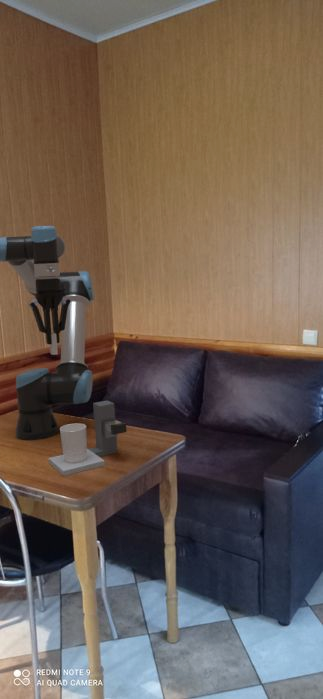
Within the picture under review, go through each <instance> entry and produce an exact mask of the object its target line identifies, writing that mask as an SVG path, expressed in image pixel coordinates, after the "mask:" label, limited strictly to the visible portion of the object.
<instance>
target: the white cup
mask: <svg viewBox="0 0 323 699" xmlns="http://www.w3.org/2000/svg"><path fill="white" fill-rule="evenodd" d="M59 435H60V442H61V447H62V452H63V454H62V455H64V460H65V461H66V462H69V463H76V462H81V461H84V460H85V459H86V458H87V449H88V446H87V444H88V440H87V435H88V434H87V424H85V423H69V424H64V425H62V426H60V428H59Z"/></svg>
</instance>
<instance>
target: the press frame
mask: <svg viewBox="0 0 323 699" xmlns="http://www.w3.org/2000/svg"><path fill="white" fill-rule="evenodd" d="M92 408H93V419H94V420H93V421H94V432H95V433H94V434H95V435H94V436H95V446H94V447H91V448H87V458H86V459H85V460H84V461H81V462H76V463H69V462H66V461H65V460H64V454H61V455H56V456H51V457H48V464H50V465H51V466H52V467H53V468H54V469H55V470H56V471H57V472H58V473H60V475H61V476H63V477H65V476H69V475H74V474H77V473H81V472H85V471H88V470H93V469H96V468H101V467H105V466H106V460H104V459H103V458H101V457H103V456H107V455H111V454H116V453H118V442H117V440H118V438H117V436H114V437H110V438H105V437H104V435H103V421H106V420H111V419H115V420H116V412H115V411H116V410H115V409H116V408H115V403H114V402H112V401H110V400H104V401H103V400H102V401H97V402H93V403H92Z"/></svg>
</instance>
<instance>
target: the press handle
mask: <svg viewBox="0 0 323 699" xmlns="http://www.w3.org/2000/svg"><path fill="white" fill-rule="evenodd" d="M127 431H128V430H127V423H126V422H121V421H119V420H118V419H116V418H115V419H111V420H106V421H103V435H104V437H105V438H110V437H114V436H116V437H118V436H119V435H120V434H123V433H127Z"/></svg>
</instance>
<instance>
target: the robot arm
mask: <svg viewBox="0 0 323 699" xmlns="http://www.w3.org/2000/svg"><path fill="white" fill-rule="evenodd" d="M30 232H31V233H30V235H25V236H23V235H22V236H4V237H0V262H8V264H9V265H10V266H11V267H12V268H13V270H14V271H15V273H16V274H17V275H18V276H19V278H21V280H22V281H23V283H24V284H23V285H24V287H25V289H26V290H27V291H28V293H30V294H31V295H32V296H33V297H34V300H32V301H29V302H28V307H30V309H31V310H32V313H33V315H34V319H35V322H36V325H37V328H38V331H39V332H41V333H44V334H45V339H46V344H47V345H49V352H50V355H53V356H55V355H59V351H58V344H61V346H60V347H61V348H60V362H59V363H58V364H57V365H56V366H55V367H56V369H55V371H50V370H49V369H48V368H47V367H39V368H34V369H29V370H27V371H23V372H21V373H19V374H17V376H16V378H15V390H16V397H17V399H16V400H17V407H18V408H17V409H18V418H17V423H16V427H15V437H16V438H17V439H20V440H28V441H29V440H39V439H40V440H42V439H46V438H50V437H52V436H55V435H56V434H58V433H59V423H58V422H57V419H56V417H55V415H54V412H53V410H52V408H53V407H52V405H56V406H57V405H73V404H74V405H78V404H85V403H87V402H88V401H90V398H91V396H92V391H93V377H94V375H93V372H92V370H89V366H88V365H87V364H86V363H85V348H86V347H85V346H86V345H85V344H86V343H85V342H86V341H85V338H86V309H88V308H89V307H90V303H91V302H92V301H94V300H95V295H94V293H95V292H94V287H93V283H92V277H91V274H90V273H89V272H88V271H86V270H85V271H83V270H82V271H81V270H80V271H79V270H76V271H63V272H62V271H61V272H60V262H59V260H60V259H59V258H61V257H62V256H63V255H64V253H65V252H66V245H65V241H64V240H63V239H62V238H61V237H60V236H59V235H58V234H57V233H58V232H57V229H56V227H55V226H52V225H38V226H34V227H33V226H32V227H31V230H30ZM39 306H41V308H42V312H43V318H42V315H41V313H40V312H41V311H40V310H39V308H38V307H39ZM59 306H60V307H61V308H60V315H59ZM51 320H52V321H51ZM51 322H52V324H51ZM51 325H52V326H51ZM60 333H61V340H60ZM60 341H61V343H60Z"/></svg>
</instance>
